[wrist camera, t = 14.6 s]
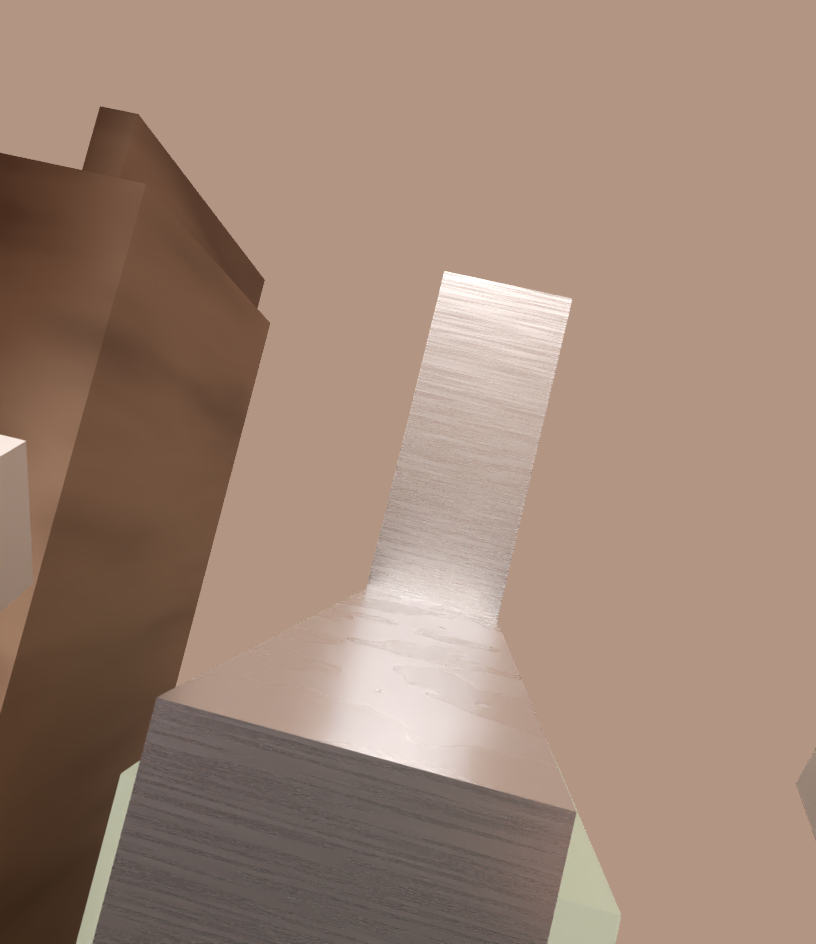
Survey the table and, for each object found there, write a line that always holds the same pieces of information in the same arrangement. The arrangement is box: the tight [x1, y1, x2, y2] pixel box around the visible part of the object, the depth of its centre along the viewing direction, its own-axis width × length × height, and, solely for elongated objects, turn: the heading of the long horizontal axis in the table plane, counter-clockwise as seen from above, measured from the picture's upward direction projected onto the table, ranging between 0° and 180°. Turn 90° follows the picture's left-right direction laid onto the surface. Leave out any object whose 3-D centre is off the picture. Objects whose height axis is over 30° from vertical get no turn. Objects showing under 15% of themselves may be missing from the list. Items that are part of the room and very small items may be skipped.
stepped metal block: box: [92, 272, 577, 944], centre depth 17 cm, size 20×4×14 cm, turn 176°
